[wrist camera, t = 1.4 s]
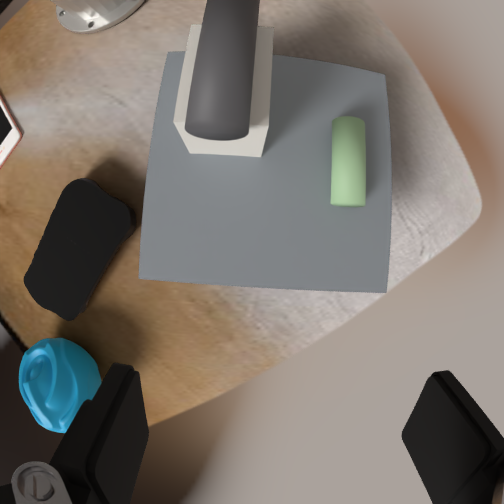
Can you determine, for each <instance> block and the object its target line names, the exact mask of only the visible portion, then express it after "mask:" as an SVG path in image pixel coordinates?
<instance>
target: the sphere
mask: <svg viewBox="0 0 504 504" xmlns="http://www.w3.org/2000/svg"><path fill="white" fill-rule="evenodd" d="M101 383H102V382H101V377H100V374H99V371H98V367H97V364H96V362H95V360H94V359H93V358H92V357H91V356H90V354H89V353H88V352H87V351H86V350H84V349H83V348H82V347H80V346H79V345H77V344H76V343H74V342H72V341H70V340H67V339H64V338H54V339H53V338H46V339H42V340H40V341H39V342H37V343H36V344H35V345H33V346H32V347H31V348H30V349H28V350H27V351H26V352H25V354H24V356H23V359H22V362H21V365H20V372H19V386H20V391H21V394H22V397H23V399H24V401H25V403H26V404H27V405H28V406H29V408H30V410H31V412H32V414H33V416H34V418H35V419H36V421H37V422H38V423H39V424H40V425H41V426H43V427H45V428H46V429H48V430H51V431H55V432H61V433H66V431H67V429H68V428H69V426H70V424H71V422H72V420H73V419H74V417H75V415H76V413H77V412H78V410H79V408H80V406H81V405H82V403H83V402H84V401H85V400H86V399H90V400H92V399H93V397H94V395H95V394H96V392H97V390H98V388H99V387H100V385H101Z"/></svg>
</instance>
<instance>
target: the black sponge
mask: <svg viewBox="0 0 504 504" xmlns="http://www.w3.org/2000/svg"><path fill="white" fill-rule="evenodd" d="M135 228H136V215H135V212H134V211H133V209H131V208H130V207H129V206H127V205H126V204H125V203H124V202H122V201H121V200H119V199H117V198H115V197H113V196H111V195H109V194H108V193H106V192H105V191H104V190H103V189H101V188H100V187H99V186H98V185H97V184H96V182H95V181H93V180H89V179H86V178H80V179H77V180H74V181H72V182H71V183H69V184H68V185H67V186H66V187H65V188H64V190H63V191H62V193H61V195H60V197H59V199H58V201H57V204H56V207H55V209H54V210H53V212H52V214H51V216H50V219H49V222H48V224H47V226H46V228H45V231H44V234H43V236H42V239H41V240H40V243H39V245H38V248H37V250H36V252H35V254H34V258H33V260H32V263H31V265H30V267H29V269H28V271H27V272H26V274H25V276H24V284H25V286H26V288H27V289H28V291H29V293H30V294H31V296H32V297H33V299H34V300H35V301H36V302H37V303H38V304H39V305H40V306H42V307H43V308H45V309H47V310H50V311H52V312H54V313H56V314H57V315H58V316H60V317H61V318H63V319H65V320H67V321H71V320H74V319H75V318H76V317H77V316H78V315H79V314H80V313H82V312H84V311H85V310H86V307H87V303H88V300H89V299H90V297H91V295H92V293H93V291H94V290H95V288H96V286H97V284H98V283H99V281H100V279H101V277H102V276H103V274H104V272H105V270H106V269H107V267H108V265H109V264H110V262H111V260H112V259H113V258H114V255H115V254H116V252H117V250H118V249H119V247H120V245H121V244H122V243H123V242H124V241H125V240H126V239H127V238H129V237H130V236H131V235H132V234H133V232H134V231H135Z"/></svg>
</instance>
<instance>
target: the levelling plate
mask: <svg viewBox="0 0 504 504" xmlns="http://www.w3.org/2000/svg"><path fill="white" fill-rule="evenodd" d="M259 3H260V0H207V4H206V8H205V13H204V17H203V22H202V24H192V25H191V29H190V33H189V38H188V43H187V47H186V51H181V52H168V54H167V58H166V63H165V67H164V72H163V77H162V81H161V86H160V92H159V97H158V102H157V108H156V113H155V119H154V125H153V132H152V138H151V145H150V152H149V160H148V167H147V176H146V184H145V194H144V204H143V215H142V228H141V242H140V260H139V279H148V280H160V281H172V282H184V283H197V284H211V285H226V286H241V287H257V288H275V289H294V290H316V291H341V292H371V293H386V292H387V282H388V271H389V257H390V240H391V214H392V163H391V138H390V121H389V108H388V97H387V88H386V79H385V74H381V73H377V72H373V71H368V70H364V69H360V68H355V67H350V66H346V65H340V64H335V63H330V62H324V61H318V60H312V59H305V58H297V57H290V56H281V55H273V37H274V27H263V26H258V14H259Z"/></svg>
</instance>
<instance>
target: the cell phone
mask: <svg viewBox="0 0 504 504" xmlns="http://www.w3.org/2000/svg"><path fill="white" fill-rule="evenodd" d="M21 138H22V133H21V132H20V130H19V128H18V126H17V125H16V123H15V121H14V119H13V118H12V116H11V114H10V112H9V110H8V109H7V107H6V105H5V103H4V101H3V99H2V97H1V95H0V169H1V167H2V166H3V164H4V163H5V161H6V160H7V159H8V157H9V156H10V154H11V153H12V151H13V150H14V149H15V147H16V146H17V145H18V143H19V142H20V140H21Z"/></svg>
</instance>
